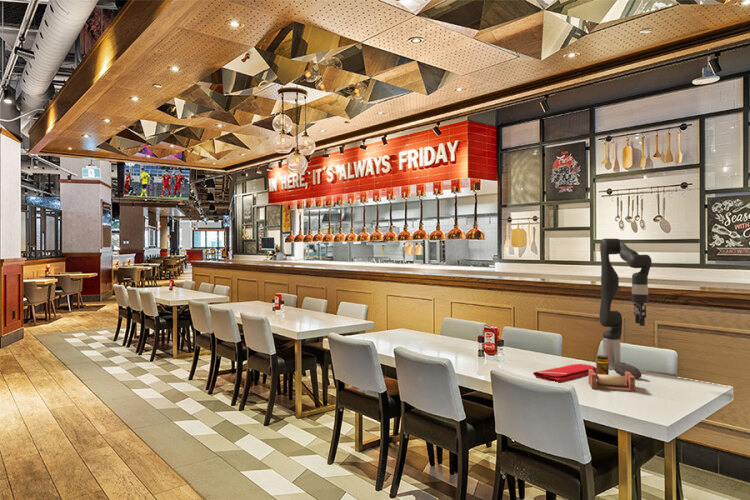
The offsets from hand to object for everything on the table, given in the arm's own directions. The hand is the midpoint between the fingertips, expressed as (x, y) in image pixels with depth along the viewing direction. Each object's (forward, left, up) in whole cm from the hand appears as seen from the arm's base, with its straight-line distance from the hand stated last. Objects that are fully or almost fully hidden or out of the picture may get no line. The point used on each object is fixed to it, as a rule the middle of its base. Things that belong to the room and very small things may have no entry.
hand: (639, 324), depth 246 cm
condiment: (-4, -18, -30) cm, 36 cm away
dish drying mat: (-8, -34, -31) cm, 47 cm away
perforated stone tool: (-11, -3, -30) cm, 32 cm away
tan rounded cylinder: (+13, -16, -29) cm, 36 cm away
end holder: (+13, -16, -30) cm, 36 cm away
